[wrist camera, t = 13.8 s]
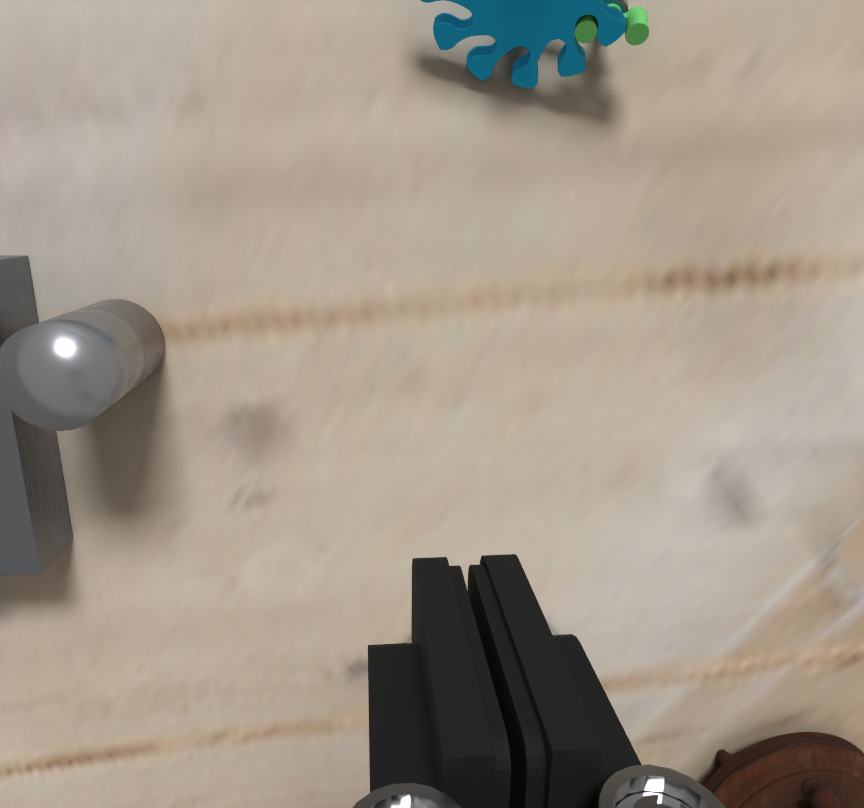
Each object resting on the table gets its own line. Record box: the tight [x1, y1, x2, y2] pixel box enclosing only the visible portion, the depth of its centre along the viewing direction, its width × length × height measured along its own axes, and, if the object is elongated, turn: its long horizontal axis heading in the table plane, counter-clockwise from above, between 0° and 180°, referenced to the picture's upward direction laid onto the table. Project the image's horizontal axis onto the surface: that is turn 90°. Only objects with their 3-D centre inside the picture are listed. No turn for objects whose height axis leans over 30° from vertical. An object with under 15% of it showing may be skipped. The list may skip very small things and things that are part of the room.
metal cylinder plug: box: [0, 299, 165, 431], centre depth 31 cm, size 5×5×8 cm
